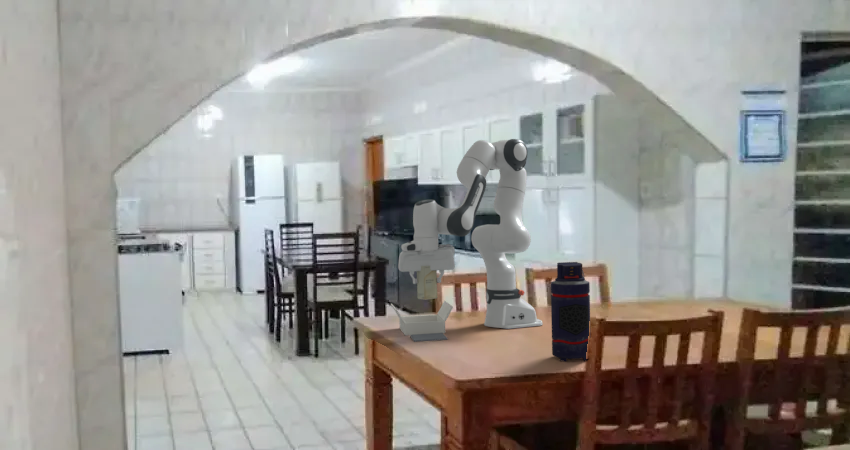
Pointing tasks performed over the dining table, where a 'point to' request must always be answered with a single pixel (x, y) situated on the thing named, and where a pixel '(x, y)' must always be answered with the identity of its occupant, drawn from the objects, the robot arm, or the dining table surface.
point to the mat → (428, 337)
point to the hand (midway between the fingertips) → (427, 283)
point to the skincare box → (426, 283)
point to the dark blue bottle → (570, 312)
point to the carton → (425, 321)
